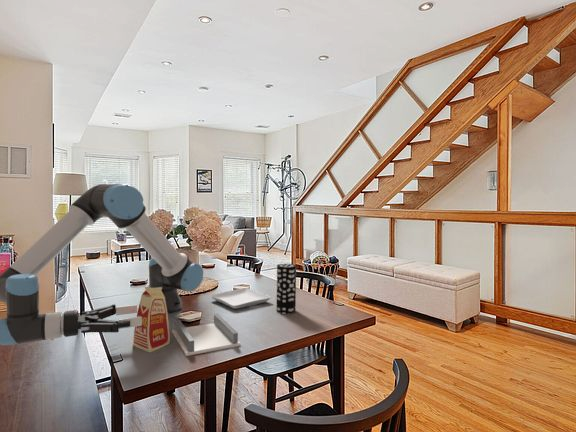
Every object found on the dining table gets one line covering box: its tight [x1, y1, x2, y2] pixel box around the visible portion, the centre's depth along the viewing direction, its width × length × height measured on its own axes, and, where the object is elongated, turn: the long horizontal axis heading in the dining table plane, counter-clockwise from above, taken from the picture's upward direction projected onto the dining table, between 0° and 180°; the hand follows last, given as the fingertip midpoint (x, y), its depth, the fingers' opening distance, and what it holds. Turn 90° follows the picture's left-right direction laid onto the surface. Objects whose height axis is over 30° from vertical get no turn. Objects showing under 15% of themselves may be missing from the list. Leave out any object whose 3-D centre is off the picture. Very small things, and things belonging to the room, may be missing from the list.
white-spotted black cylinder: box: [276, 263, 297, 315], centre depth 160 cm, size 8×8×20 cm
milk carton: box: [132, 286, 171, 353], centre depth 123 cm, size 9×9×20 cm
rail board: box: [171, 313, 242, 357], centre depth 129 cm, size 22×18×4 cm
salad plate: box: [209, 287, 272, 310], centre depth 173 cm, size 21×21×3 cm
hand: (139, 314), depth 120 cm, fingers open, 13 cm apart
